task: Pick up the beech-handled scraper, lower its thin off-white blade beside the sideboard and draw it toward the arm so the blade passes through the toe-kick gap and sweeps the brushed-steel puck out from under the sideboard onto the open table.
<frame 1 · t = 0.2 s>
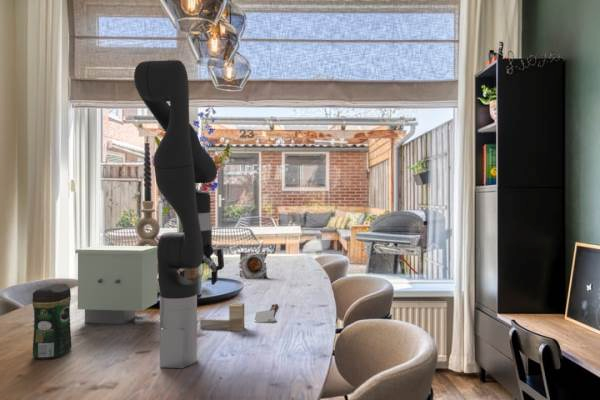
hand: (198, 283, 130), 17 cm above the table, tool pointing down, fingers open, 8 cm apart
scraper: (236, 329, 144), on the table
coffee jar: (52, 354, 121), on the table
steel puck: (141, 322, 153), on the table
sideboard: (118, 321, 152), on the table
kitchen cleaver: (266, 315, 163), on the table
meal: (253, 278, 239), on the table
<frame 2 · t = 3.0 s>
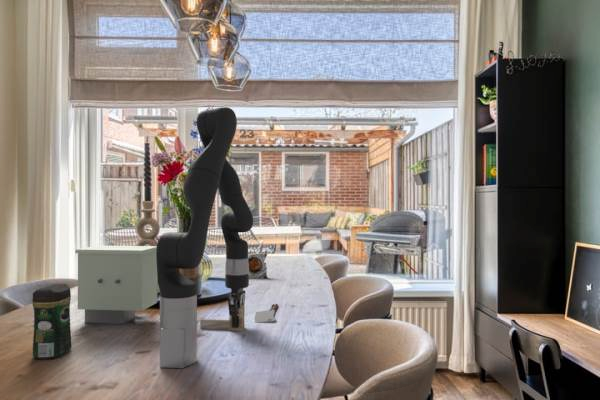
hand: (237, 325, 144), 1 cm above the table, tool pointing down, fingers closed on scraper, 4 cm apart
scraper: (237, 329, 144), on the table, touching gripper
everything else where it was.
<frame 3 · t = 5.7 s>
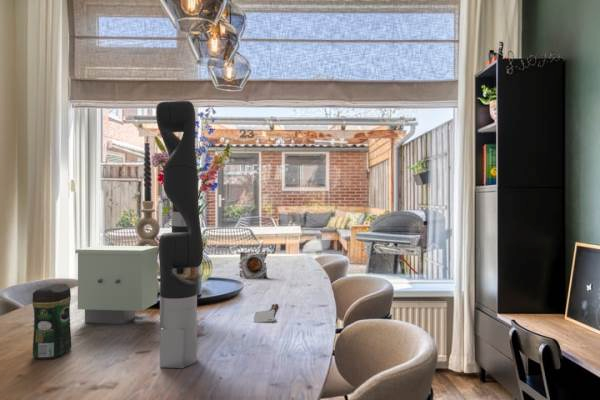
hand: (182, 272, 159), 16 cm above the table, tool pointing down, fingers closed on scraper, 4 cm apart
scraper: (182, 276, 159), point 14 cm above the table, touching gripper
everything else where it was.
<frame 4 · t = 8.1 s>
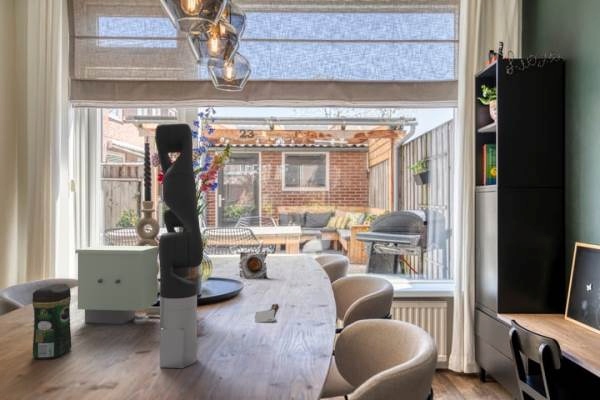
hand: (178, 311, 159), 2 cm above the table, tool pointing down, fingers closed on scraper, 4 cm apart
scraper: (179, 315, 158), point 1 cm above the table, touching gripper
everything else where it was.
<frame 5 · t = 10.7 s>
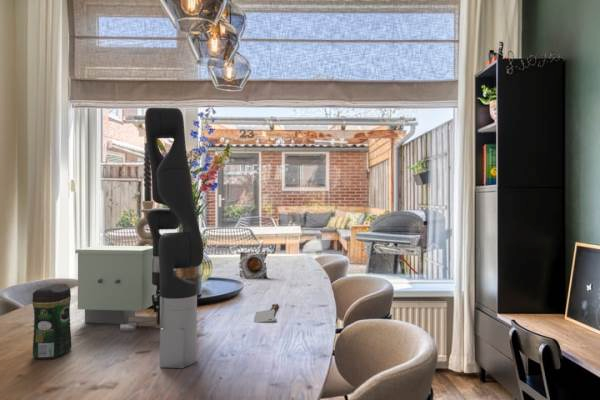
hand: (164, 321, 145), 2 cm above the table, tool pointing down, fingers closed on scraper, 4 cm apart
scraper: (164, 326, 145), point 1 cm above the table, touching gripper
steel puck: (128, 329, 144), on the table
everything else where it was.
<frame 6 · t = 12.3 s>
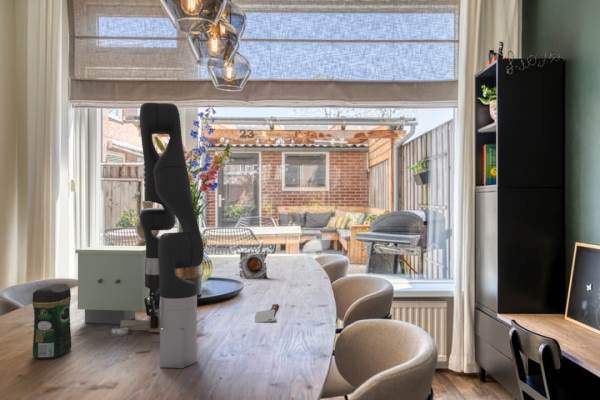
hand: (157, 325, 141), 2 cm above the table, tool pointing down, fingers closed on scraper, 4 cm apart
scraper: (157, 330, 141), point 1 cm above the table, touching gripper
steel puck: (120, 334, 139), on the table
everything else where it was.
when the fingers open (2 cm above the table, at t = 13.4 s): scraper stays where it is, on the table.
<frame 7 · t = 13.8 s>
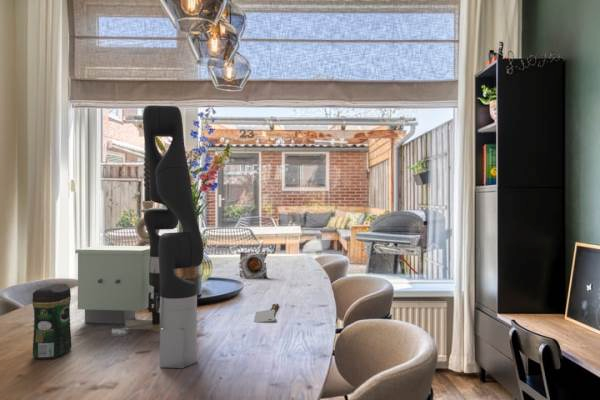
hand: (161, 320, 144), 3 cm above the table, tool pointing down, fingers open, 7 cm apart
scraper: (161, 329, 143), on the table
everything else where it was.
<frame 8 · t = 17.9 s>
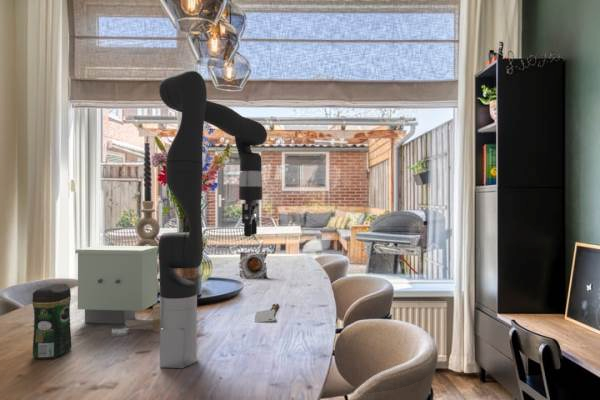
hand: (250, 235, 146), 30 cm above the table, tool pointing down, fingers open, 8 cm apart
nothing on the table moved.
at the end: steel puck inside the target area (1.1 cm from its centre), on the table; steel puck moved 13.9 cm from its start; the gripper is holding nothing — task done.
